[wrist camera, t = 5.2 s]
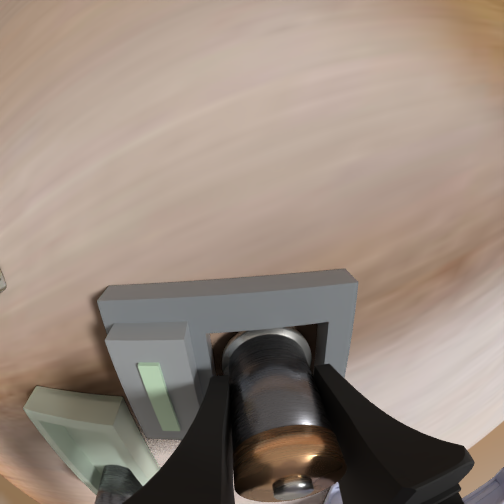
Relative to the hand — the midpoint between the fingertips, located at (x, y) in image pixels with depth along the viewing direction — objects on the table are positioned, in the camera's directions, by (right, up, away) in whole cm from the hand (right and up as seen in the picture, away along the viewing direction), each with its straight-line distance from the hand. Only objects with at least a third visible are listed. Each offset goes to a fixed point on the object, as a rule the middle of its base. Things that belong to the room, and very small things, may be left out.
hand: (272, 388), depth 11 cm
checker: (-2, +1, +2) cm, 3 cm away
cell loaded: (-11, -12, +5) cm, 16 cm away
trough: (-11, -9, +4) cm, 14 cm away
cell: (0, 0, +1) cm, 2 cm away
